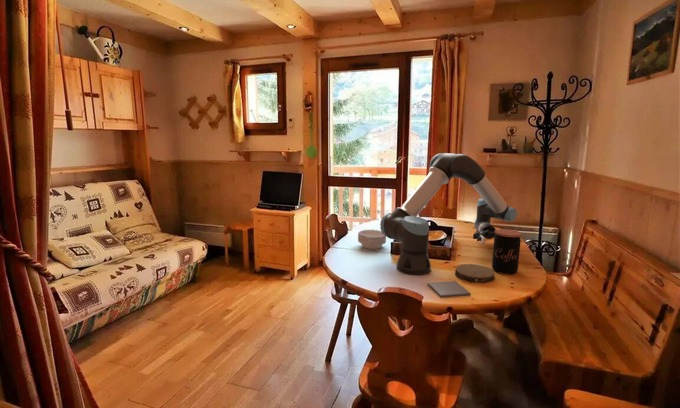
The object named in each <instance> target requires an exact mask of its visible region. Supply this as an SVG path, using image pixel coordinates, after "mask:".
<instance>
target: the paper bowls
mask: <svg viewBox="0 0 680 408" xmlns="http://www.w3.org/2000/svg"><path fill="white" fill-rule="evenodd" d="M357 234H358V235H357V241H358V243H360V244H361V246H362V247H363V248H365V249H367V250H378V249H380V248H382V246H383V245H385V244H386V242H387V236H385V235H384V234H383V233H382V231H381V230H377V229H376V230H375V229H363V230H360V231H358V233H357Z"/></svg>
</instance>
